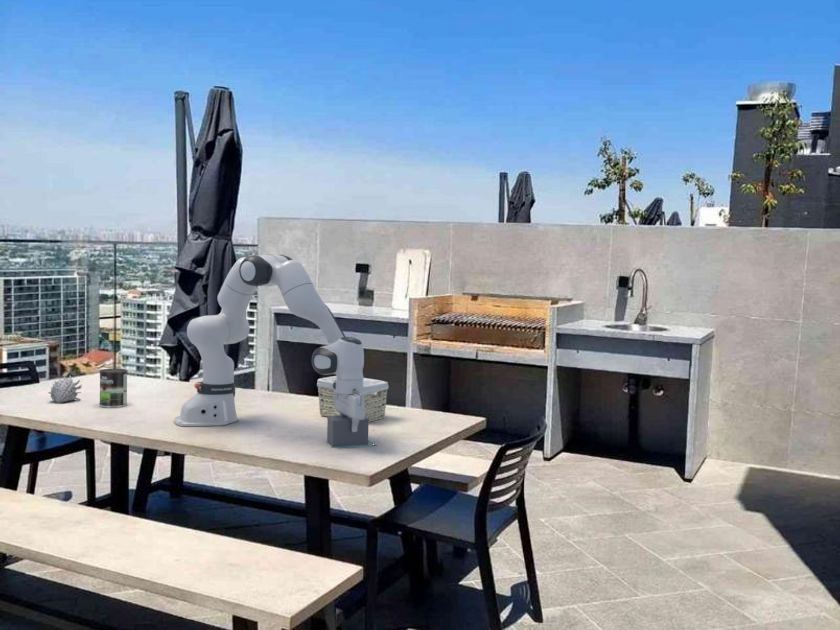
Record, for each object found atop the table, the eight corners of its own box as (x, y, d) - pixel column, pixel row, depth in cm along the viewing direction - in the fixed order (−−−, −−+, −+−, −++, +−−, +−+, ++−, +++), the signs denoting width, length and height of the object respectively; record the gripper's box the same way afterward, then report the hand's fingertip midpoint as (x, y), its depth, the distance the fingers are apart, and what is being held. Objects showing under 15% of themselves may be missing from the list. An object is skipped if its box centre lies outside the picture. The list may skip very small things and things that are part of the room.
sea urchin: (45, 408, 312) (74, 411, 311) (41, 384, 307) (69, 387, 306) (61, 393, 322) (89, 396, 321) (57, 370, 318) (85, 373, 317)
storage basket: (389, 418, 299) (390, 380, 298) (363, 425, 286) (364, 385, 285) (342, 410, 313) (342, 374, 312) (314, 416, 299) (315, 378, 298)
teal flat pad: (336, 448, 250) (336, 448, 250) (326, 441, 259) (326, 441, 259) (376, 445, 256) (376, 444, 256) (365, 438, 265) (365, 438, 265)
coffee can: (114, 408, 303) (114, 372, 302) (93, 406, 306) (93, 370, 305) (133, 404, 312) (133, 369, 311) (113, 402, 316) (113, 367, 315)
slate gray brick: (332, 447, 251) (332, 420, 250) (326, 442, 258) (327, 416, 257) (368, 445, 255) (369, 418, 255) (361, 440, 262) (362, 414, 262)
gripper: (370, 391, 247) (369, 434, 248) (348, 381, 266) (347, 421, 267) (351, 392, 245) (350, 436, 246) (330, 382, 263) (329, 422, 264)
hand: (348, 428), depth 256 cm, fingers open, 8 cm apart
